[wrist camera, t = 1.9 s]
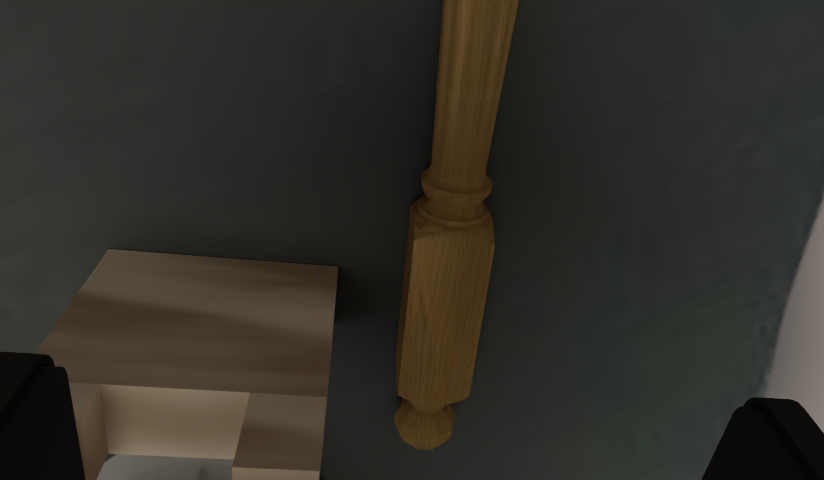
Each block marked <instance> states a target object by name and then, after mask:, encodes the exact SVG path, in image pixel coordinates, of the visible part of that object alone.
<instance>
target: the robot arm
mask: <svg viewBox="0 0 824 480" xmlns="http://www.w3.org/2000/svg"><path fill="white" fill-rule="evenodd" d="M233 461H234V460H233V459H211V458H190V457H169V456H147V455H126V454H108V456H107V458H106V460H105V462H104V464H103V466H102V469H101V471H100V473H99V475H98V477H97V480H232V466H233ZM0 480H86V478H85V473H84V467H83V461H82V455H81V450H80V444H79V438H78V432H77V426H76V421H75V415H74V409H73V403H72V397H71V392H70V386H69V380H68V375H67V371H66V369H65V368H64V367H61V366H55V364H54V361H53V359H52V358H51V356H50V355H46V354H32V353H15V352H1V353H0ZM702 480H824V433H823V432H822V431H821V429H820V428H819V427H818V426H817V424H816V423H815V422H814V421H813V419H812V418H811V417H810V415H809V414H808V413H807V412H806V410H805V409H804V408H803V407H802V406H801V405H800V404H799V403H798V402H796V401H794V400H790V399H774V398H758V397H756V398H751V399H749V400H747V401H746V403H745V404H744V406H743V407H739V408H737V409H736V410H735V411H734V413H733V415H732V417H731V419H730V421H729V423H728V425H727V427H726V429H725V432H724V434H723V436H722V438H721V440H720V442H719V444H718V446H717V448H716V450H715V453H714V455H713V457H712V459H711V461H710V463H709V465H708V467H707V469H706V472H705V474H704V476H703V478H702Z"/></svg>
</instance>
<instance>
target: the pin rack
mask: <svg viewBox="0 0 824 480" xmlns="http://www.w3.org/2000/svg"><path fill="white" fill-rule="evenodd" d="M337 277H338V267H337V266H324V265H311V264H298V263H285V262H272V261H259V260H246V259H233V258H220V257H207V256H193V255H180V254H167V253H154V252H141V251H128V250H115V249H108V251H107V252H106V254H105V255H104V256H103V258H102V259H101V261H100V262H99V264H98V265H97V266H96V268H95V269H94V271H93V272H92V273H91V275H90V276H89V278H88V279H87V281H86V282H85V283H84V285H83V286H82V288H81V289H80V291H79V292H78V293H77V295H76V296H75V298H74V299H73V301H72V302H71V303H70V305H69V306H68V308H67V309H66V311H65V312H64V313H63V315H62V316H61V318H60V319H59V320H58V322H57V323H56V325H55V326H54V328H53V329H52V330H51V332H50V333H49V335H48V336H47V338H46V339H45V340H44V342H43V343H42V345H41V346H40V348H39V349H38V350H37V352H36V353H35V354H46V355H50V356H51V358H52V359H53V361H54V364H55V366H61V367H64V368H65V369H66V371H67V375H68V380H69V386H70V392H71V397H72V403H73V409H74V415H75V421H76V426H77V432H78V438H79V444H80V450H81V455H82V461H83V467H84V473H85V478H86V480H97V477H98V475H99V473H100V471H101V469H102V466H103V464H104V462H105V460H106V458H107V456H108V454H126V455H147V456H169V457H190V458H211V459H233V460H234V461H233V466H232V480H320V471H321V460H322V449H323V438H324V427H325V416H326V405H327V394H328V383H329V372H330V361H331V350H332V339H333V328H334V316H335V303H336V290H337Z"/></svg>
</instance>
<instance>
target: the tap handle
mask: <svg viewBox="0 0 824 480" xmlns="http://www.w3.org/2000/svg"><path fill="white" fill-rule="evenodd" d="M518 3H519V0H443V5H442V19H441V33H440V47H439V61H438V75H437V89H436V103H435V117H434V130H433V144H432V158H431V165H430V167H429V168H427V169H426V170H424V171H423V172H422V173H421V182H422V188H423V191H424V193H425V195H423V196H422V197H421V198H420V199H418V200H416V201H415V202H413V203H412V204H411V208H410V218H409V228H408V238H407V248H406V258H405V268H404V278H403V288H402V299H401V309H400V319H399V329H398V339H397V349H396V389H397V394H398V395H399V396H400V397H402V400H401V402H400V404H399V407H398V409H397V411H396V414H395V417H394V422H395V426H396V428H397V430H398V432H399V434H400V436H401V438H402V440H403V441H404V442H405V443H407V444H409V445H410V446H412V447H414V448H416V449H423V450H432V449H434V448H436V447H438V446H440V445H441V444H443V443H445V442H446V441H447V440H448V439H449V438H450V436H451V433H452V429H453V426H454V423H455V413H454V411H453V409H452V407H451V405H450V404H452V403H456V402H459V401H461V400H464V399H466V398H468V397H469V395H470V389H471V383H472V377H473V371H474V366H475V360H476V354H477V348H478V342H479V336H480V331H481V325H482V319H483V313H484V307H485V301H486V296H487V290H488V284H489V278H490V272H491V267H492V261H493V255H494V249H495V237H494V226H493V220H492V217H491V214H490V211H489V210H488V209H487V206H486V203H484V202H483V200H484V199H485V198H486V197H487V196H488V195H489V194H490V192H491V190H492V187H493V184H492V181H491V179H490V177H489V176H487V175H486V167H487V162H488V157H489V152H490V147H491V142H492V137H493V131H494V126H495V121H496V116H497V111H498V106H499V101H500V96H501V90H502V85H503V80H504V75H505V70H506V65H507V60H508V55H509V50H510V44H511V39H512V34H513V29H514V24H515V19H516V14H517V9H518Z"/></svg>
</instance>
